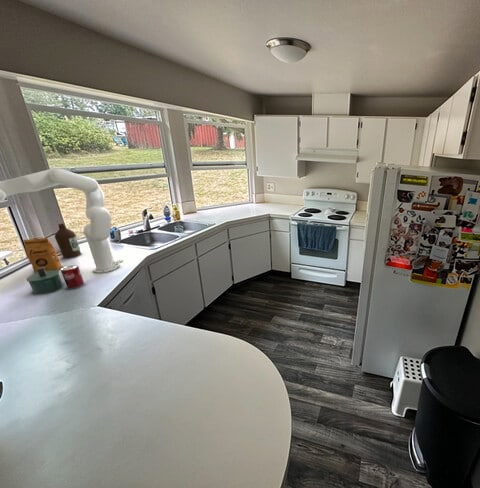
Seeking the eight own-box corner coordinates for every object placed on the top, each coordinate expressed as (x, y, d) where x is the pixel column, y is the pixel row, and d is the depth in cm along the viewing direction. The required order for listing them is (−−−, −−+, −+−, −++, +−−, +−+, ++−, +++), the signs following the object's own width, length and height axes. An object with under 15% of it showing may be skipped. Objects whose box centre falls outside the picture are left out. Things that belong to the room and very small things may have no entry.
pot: (59, 280, 151) (54, 268, 149) (66, 289, 142) (61, 276, 139) (31, 288, 142) (25, 275, 140) (36, 298, 133) (30, 284, 130)
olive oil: (58, 259, 179) (45, 225, 170) (69, 253, 189) (57, 221, 180) (76, 258, 181) (64, 225, 173) (85, 252, 191) (75, 221, 182)
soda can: (74, 289, 142) (67, 271, 137) (63, 288, 143) (56, 269, 139) (87, 283, 148) (81, 265, 144) (78, 282, 150) (71, 264, 145)
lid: (57, 270, 148) (53, 261, 146) (62, 276, 141) (58, 267, 139) (25, 278, 138) (21, 268, 136) (29, 285, 131) (24, 275, 130)
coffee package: (57, 271, 161) (45, 239, 154) (31, 274, 157) (17, 242, 149) (65, 265, 170) (54, 235, 162) (40, 268, 165) (27, 237, 158)
